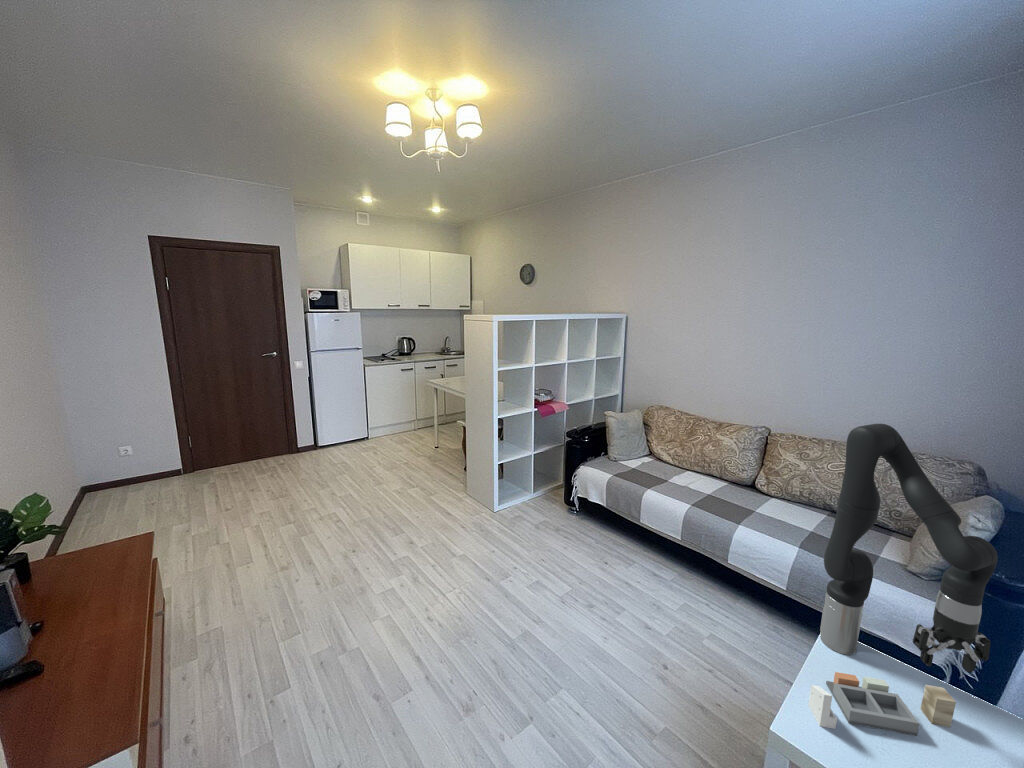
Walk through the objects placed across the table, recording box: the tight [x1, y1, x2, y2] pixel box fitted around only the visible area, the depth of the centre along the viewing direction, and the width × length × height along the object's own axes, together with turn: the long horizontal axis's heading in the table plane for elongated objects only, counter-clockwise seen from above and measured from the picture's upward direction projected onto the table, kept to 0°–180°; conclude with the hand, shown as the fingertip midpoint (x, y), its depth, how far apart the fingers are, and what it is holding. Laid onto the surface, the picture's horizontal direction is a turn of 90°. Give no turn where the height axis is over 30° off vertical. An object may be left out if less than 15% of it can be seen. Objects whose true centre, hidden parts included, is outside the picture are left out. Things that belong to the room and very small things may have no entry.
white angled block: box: [808, 684, 838, 730], centre depth 105 cm, size 4×10×9 cm, turn 168°
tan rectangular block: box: [919, 684, 957, 728], centre depth 105 cm, size 4×4×8 cm
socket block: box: [825, 671, 920, 737], centre depth 108 cm, size 12×15×5 cm
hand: (946, 666), depth 102 cm, fingers open, 8 cm apart
